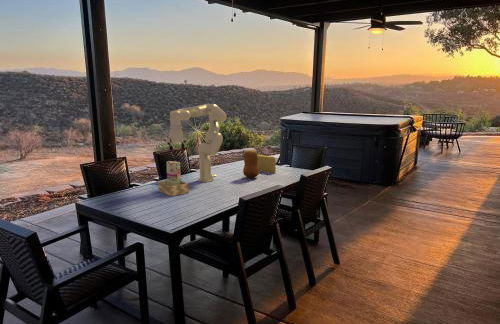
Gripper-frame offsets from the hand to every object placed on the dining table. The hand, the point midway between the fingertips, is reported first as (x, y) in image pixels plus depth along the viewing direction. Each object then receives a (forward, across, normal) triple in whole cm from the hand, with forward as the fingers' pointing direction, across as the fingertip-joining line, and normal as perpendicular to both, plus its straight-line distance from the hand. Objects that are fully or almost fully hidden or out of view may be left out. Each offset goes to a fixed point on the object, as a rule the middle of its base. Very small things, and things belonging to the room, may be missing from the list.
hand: (177, 150), depth 268 cm
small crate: (+28, +9, +9) cm, 31 cm away
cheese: (+32, -92, -2) cm, 97 cm away
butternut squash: (+31, -63, +10) cm, 71 cm away
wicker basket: (+29, +10, +9) cm, 32 cm away
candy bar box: (+30, -6, -20) cm, 37 cm away
